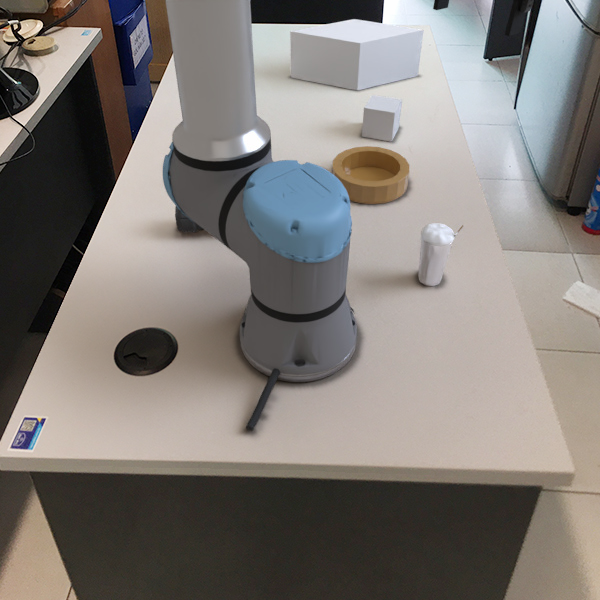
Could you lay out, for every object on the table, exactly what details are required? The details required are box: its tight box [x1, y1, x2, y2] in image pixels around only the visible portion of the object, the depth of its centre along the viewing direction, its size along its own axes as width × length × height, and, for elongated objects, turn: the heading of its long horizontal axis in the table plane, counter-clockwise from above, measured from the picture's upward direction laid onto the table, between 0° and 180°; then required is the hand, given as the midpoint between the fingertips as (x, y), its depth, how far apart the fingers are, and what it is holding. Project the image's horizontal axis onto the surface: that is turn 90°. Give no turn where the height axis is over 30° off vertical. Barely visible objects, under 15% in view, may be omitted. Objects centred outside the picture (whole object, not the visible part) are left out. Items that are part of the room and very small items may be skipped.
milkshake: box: [417, 222, 464, 287], centre depth 88 cm, size 4×5×10 cm
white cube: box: [361, 94, 403, 143], centre depth 122 cm, size 6×6×6 cm
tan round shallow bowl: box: [331, 145, 410, 205], centre depth 109 cm, size 13×13×4 cm
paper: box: [289, 18, 424, 91], centre depth 140 cm, size 14×29×10 cm, turn 92°
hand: (474, 20), depth 95 cm, fingers open, 13 cm apart
